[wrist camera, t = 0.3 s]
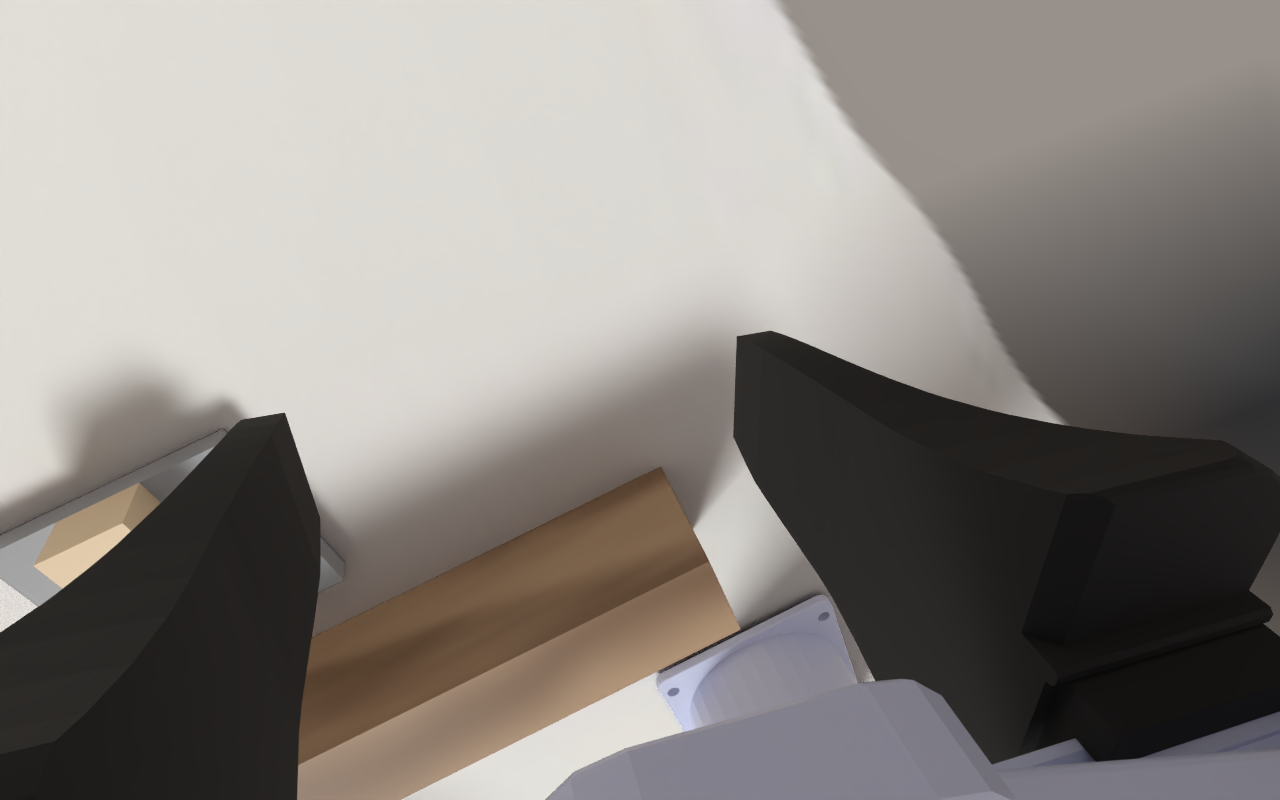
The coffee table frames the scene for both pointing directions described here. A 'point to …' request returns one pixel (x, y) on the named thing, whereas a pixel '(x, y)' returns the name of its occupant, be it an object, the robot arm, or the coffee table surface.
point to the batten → (506, 645)
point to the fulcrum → (106, 527)
